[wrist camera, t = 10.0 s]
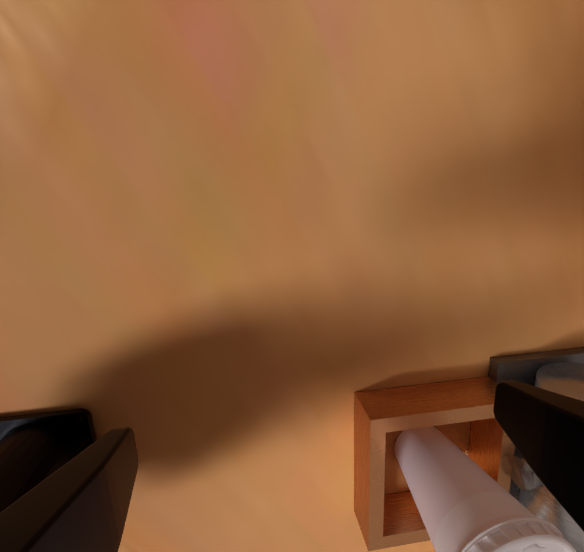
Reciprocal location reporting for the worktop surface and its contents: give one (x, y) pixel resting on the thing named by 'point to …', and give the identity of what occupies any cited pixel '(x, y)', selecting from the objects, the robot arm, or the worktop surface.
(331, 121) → the worktop surface
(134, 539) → the worktop surface
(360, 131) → the worktop surface
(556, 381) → the motor unit
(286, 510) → the worktop surface
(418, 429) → the white cup with straw
